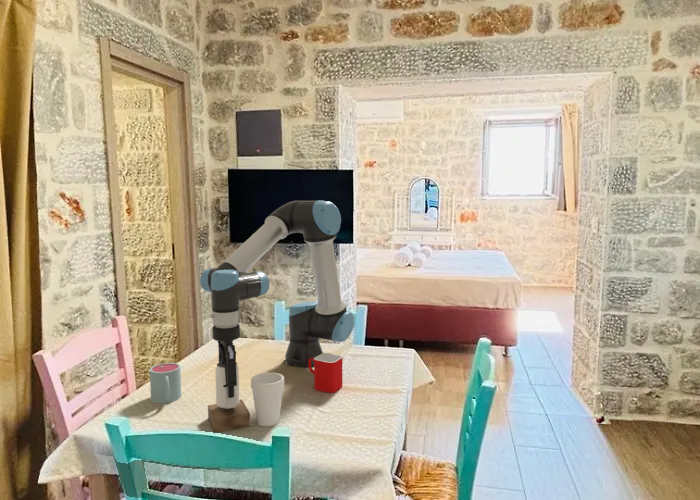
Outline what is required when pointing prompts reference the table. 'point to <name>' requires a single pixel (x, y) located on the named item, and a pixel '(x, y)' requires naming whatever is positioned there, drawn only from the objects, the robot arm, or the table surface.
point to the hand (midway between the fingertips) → (228, 402)
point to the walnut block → (228, 417)
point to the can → (222, 381)
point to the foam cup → (267, 397)
